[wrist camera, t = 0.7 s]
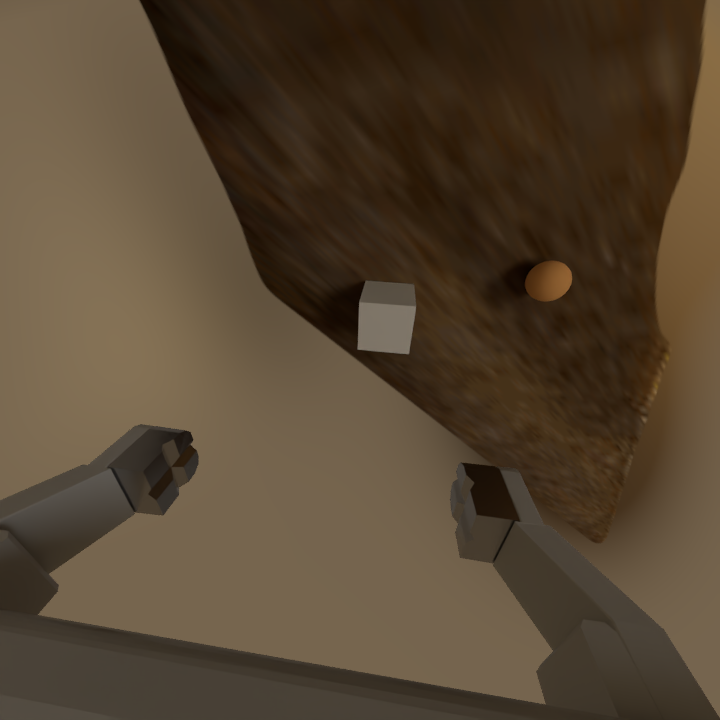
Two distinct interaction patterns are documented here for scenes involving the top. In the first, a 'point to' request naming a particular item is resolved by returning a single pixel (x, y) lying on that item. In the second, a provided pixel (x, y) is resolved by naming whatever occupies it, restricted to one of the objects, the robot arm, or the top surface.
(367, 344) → the grey matte cube
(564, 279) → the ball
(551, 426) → the top surface
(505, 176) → the top surface
